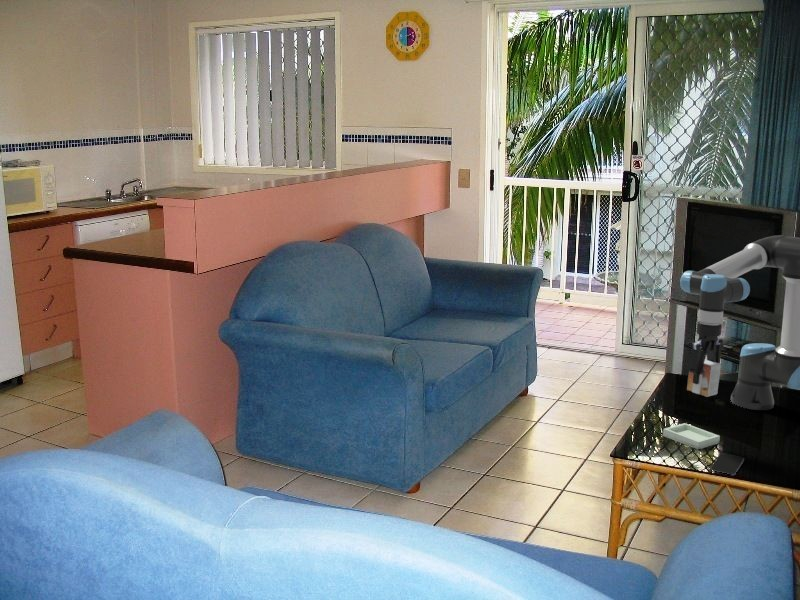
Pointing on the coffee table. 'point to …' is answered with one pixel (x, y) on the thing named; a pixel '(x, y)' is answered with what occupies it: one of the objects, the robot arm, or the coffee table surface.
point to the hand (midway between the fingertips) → (702, 391)
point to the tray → (691, 436)
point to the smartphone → (727, 463)
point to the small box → (707, 378)
